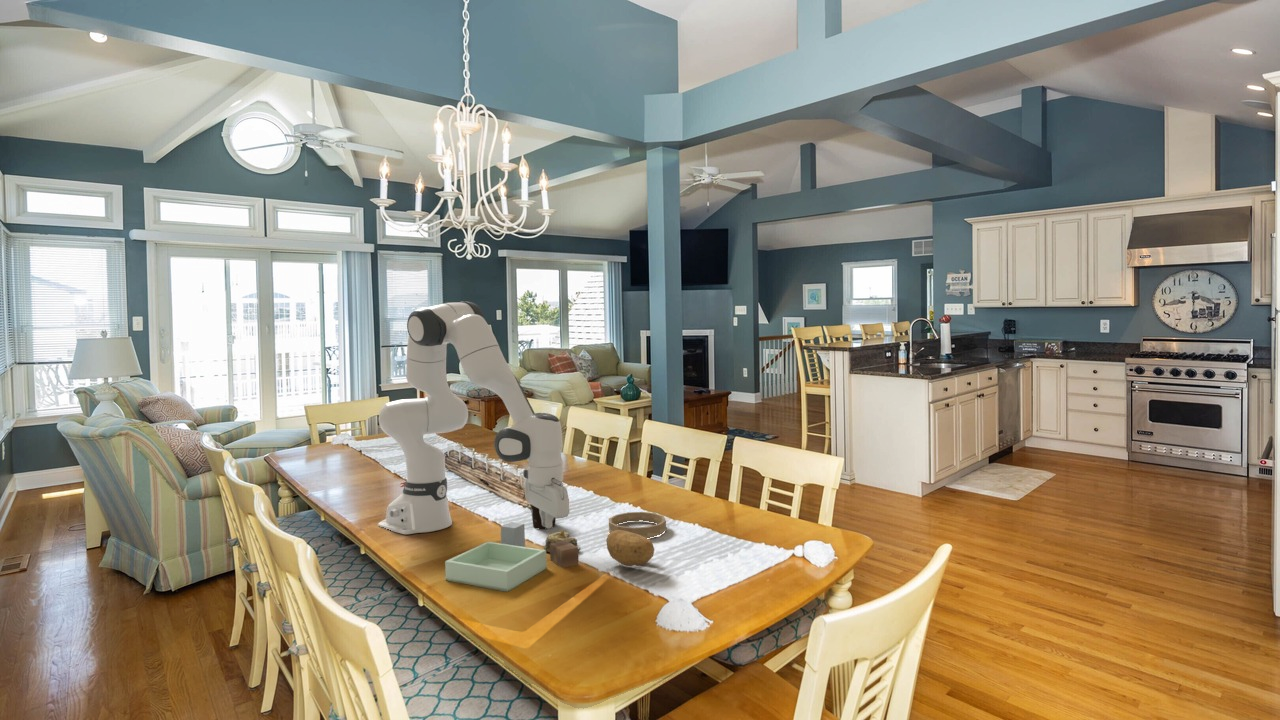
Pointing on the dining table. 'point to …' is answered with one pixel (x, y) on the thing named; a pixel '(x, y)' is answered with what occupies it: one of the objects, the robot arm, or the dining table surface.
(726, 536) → the dining table surface
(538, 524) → the coffee mug
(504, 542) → the grey block
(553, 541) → the cake
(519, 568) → the serving tray
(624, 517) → the ring
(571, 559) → the walnut block
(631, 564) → the potato
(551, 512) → the robot arm
